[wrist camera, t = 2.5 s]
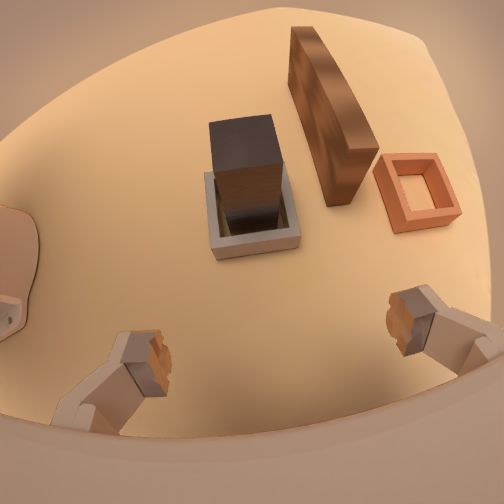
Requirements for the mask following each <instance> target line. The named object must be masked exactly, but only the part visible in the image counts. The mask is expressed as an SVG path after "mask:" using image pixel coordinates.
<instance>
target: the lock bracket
mask: <svg viewBox="0 0 504 504" xmlns="http://www.w3.org/2000/svg"><path fill="white" fill-rule="evenodd" d="M373 172H374V175H375V178H376V180H377V183H378V186H379V189H380V191H381V194H382V197H383V200H384V203H385V206H386V209H387V212H388V215H389V218H390V222H391V225H392V228H393V231H394V233H399V232H405V231H412V230H419V229H425V228H432V227H438V226H445V225H449V224H450V223H451V222H452V221H454V220H455V219H456V218H457V217H459V216H460V215H461V214H462V211H461V209H460V206H459V203H458V201H457V198H456V196H455V193H454V191H453V188H452V186H451V184H450V181H449V179H448V177H447V174H446V172H445V170H444V168H443V166H442V164H441V161H440V159H439V157H438V155H437V153H394V154H381V156H380V158H379V160H378V161H377V163H376V165H375V167H374V169H373ZM408 174H423V175H424V178H425V180H426V183H427V185H428V188H429V190H430V193H431V195H432V198H433V200H434V203H435V206H436V208H437V209H430V210H421V211H413V212H411V210H410V207H409V205H408V202H407V199H406V196H405V194H404V191H403V188H402V186H401V183H400V180H399V178H398V175H408Z"/></svg>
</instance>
